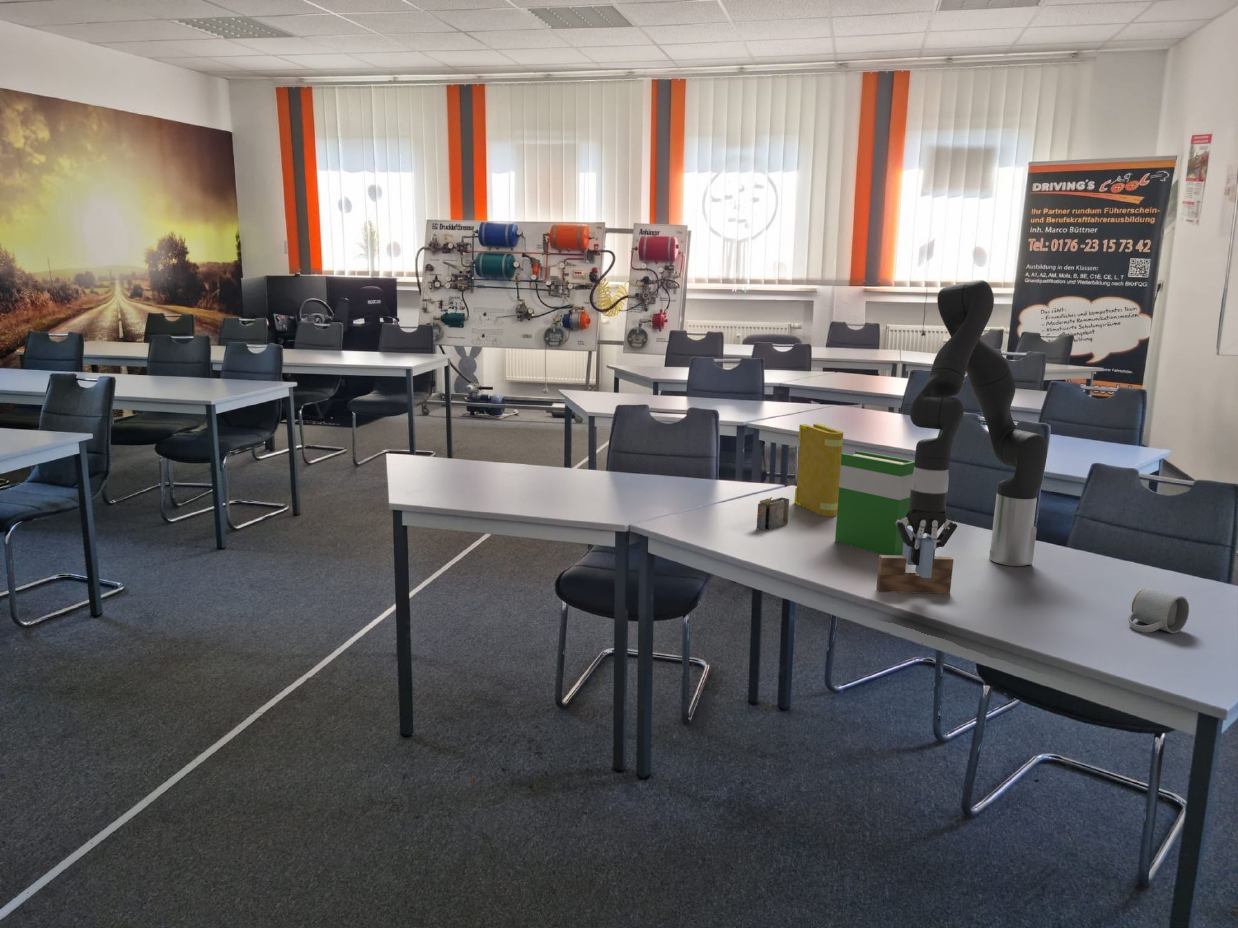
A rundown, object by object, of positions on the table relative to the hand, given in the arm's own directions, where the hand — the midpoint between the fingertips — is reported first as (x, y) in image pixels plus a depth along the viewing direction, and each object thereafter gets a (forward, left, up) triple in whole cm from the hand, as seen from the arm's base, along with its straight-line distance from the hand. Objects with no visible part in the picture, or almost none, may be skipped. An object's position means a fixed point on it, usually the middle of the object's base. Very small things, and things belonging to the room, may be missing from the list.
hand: (921, 564), depth 194 cm
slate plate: (0, -3, -2) cm, 4 cm away
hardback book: (0, -38, -8) cm, 39 cm away
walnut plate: (0, -4, -8) cm, 9 cm away
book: (+6, -76, -8) cm, 77 cm away
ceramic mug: (-44, +15, -8) cm, 47 cm away
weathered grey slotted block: (+23, -56, -8) cm, 61 cm away
